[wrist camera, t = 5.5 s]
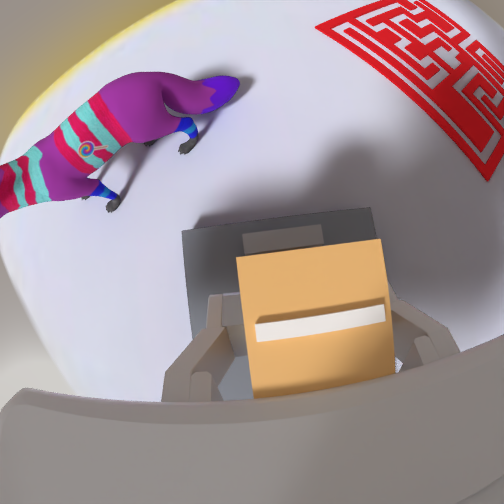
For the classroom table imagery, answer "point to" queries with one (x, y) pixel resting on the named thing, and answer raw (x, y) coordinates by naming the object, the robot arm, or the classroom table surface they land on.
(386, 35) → the maze puzzle
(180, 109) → the purple fox figurine
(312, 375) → the fader cap
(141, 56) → the classroom table surface
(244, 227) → the fader board
